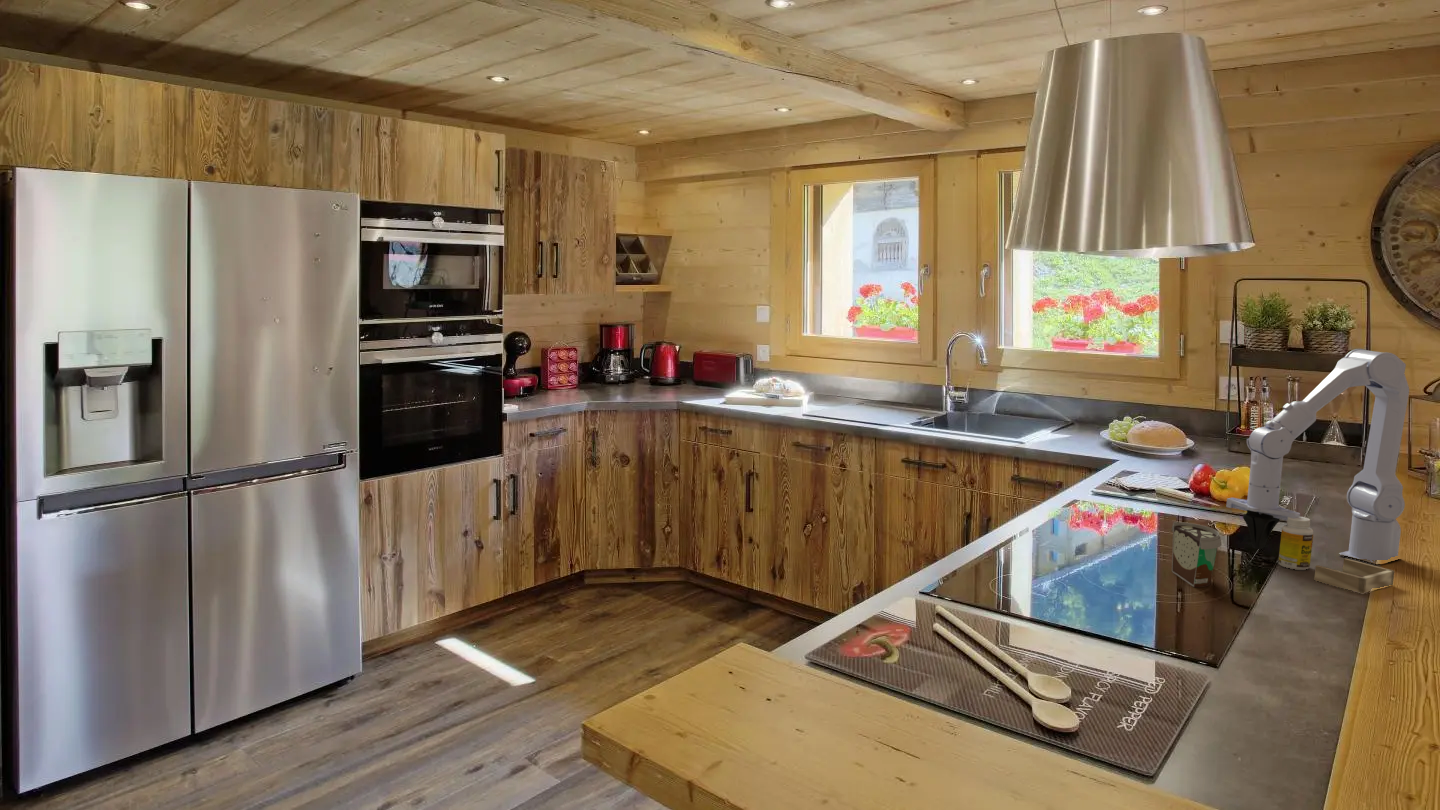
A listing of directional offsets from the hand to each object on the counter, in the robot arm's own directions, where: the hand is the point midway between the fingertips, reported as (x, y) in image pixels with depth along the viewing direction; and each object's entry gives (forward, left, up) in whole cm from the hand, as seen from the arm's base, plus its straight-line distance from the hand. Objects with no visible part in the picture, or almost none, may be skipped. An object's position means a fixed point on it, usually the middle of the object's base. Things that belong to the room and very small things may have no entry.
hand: (1258, 547), depth 200 cm
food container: (+25, +4, -2) cm, 25 cm away
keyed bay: (0, +19, -2) cm, 19 cm away
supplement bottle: (0, +8, -2) cm, 8 cm away
